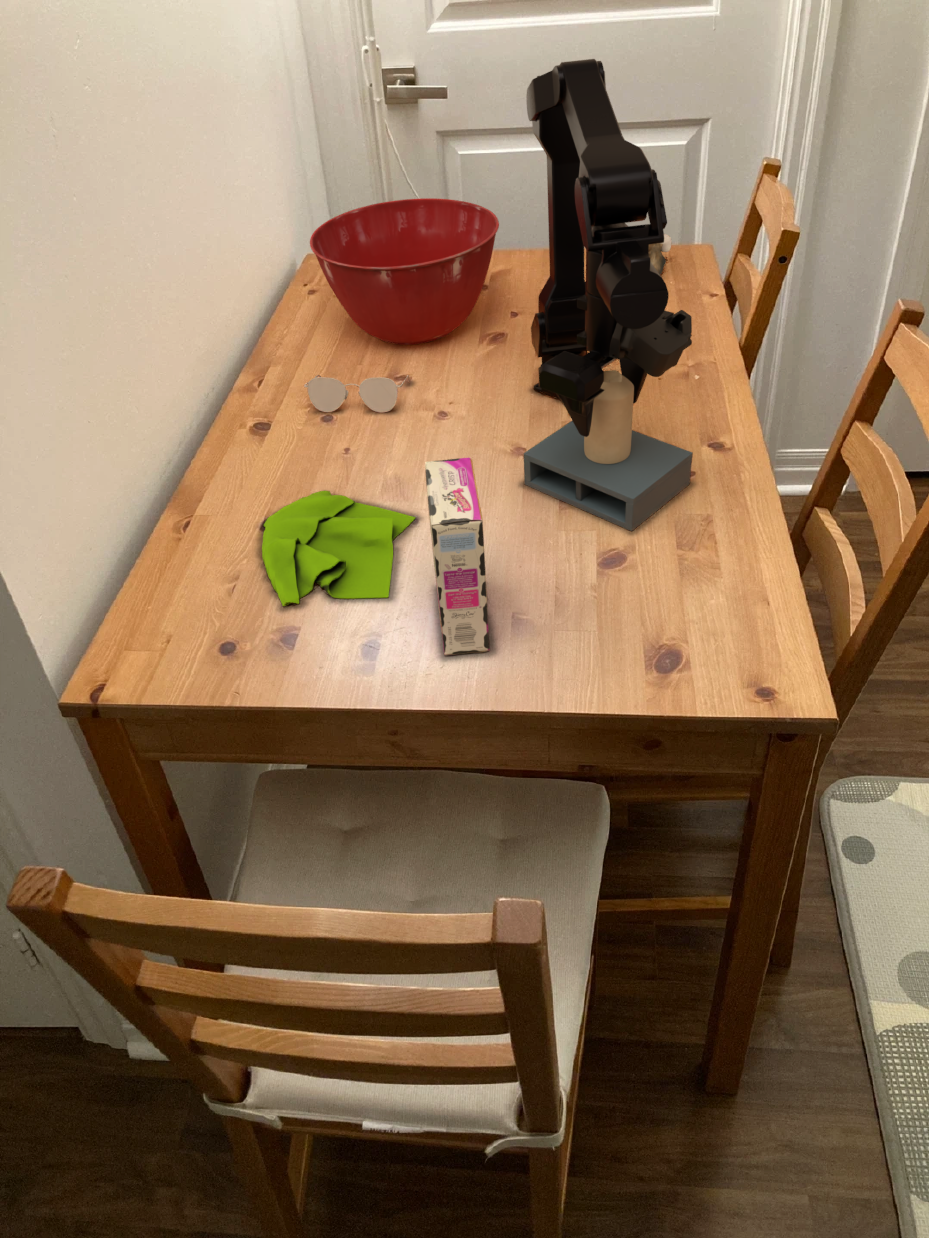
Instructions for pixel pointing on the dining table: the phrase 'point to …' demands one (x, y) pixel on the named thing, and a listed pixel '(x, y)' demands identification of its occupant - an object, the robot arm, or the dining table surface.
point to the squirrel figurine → (659, 253)
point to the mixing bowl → (407, 265)
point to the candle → (611, 421)
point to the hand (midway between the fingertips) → (608, 418)
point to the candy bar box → (458, 555)
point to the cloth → (331, 547)
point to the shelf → (608, 476)
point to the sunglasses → (333, 392)
